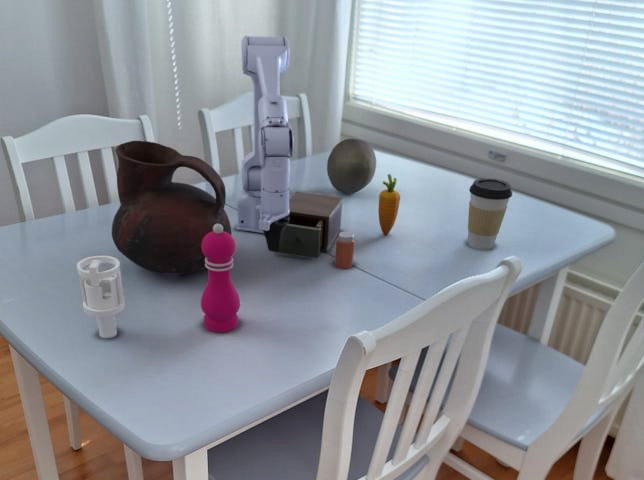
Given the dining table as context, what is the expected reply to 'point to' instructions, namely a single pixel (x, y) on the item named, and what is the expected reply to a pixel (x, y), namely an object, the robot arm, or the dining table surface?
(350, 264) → the orange jar
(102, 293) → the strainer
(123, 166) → the jug
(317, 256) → the drawer
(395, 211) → the carrot
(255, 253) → the dining table surface
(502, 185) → the coffee cup
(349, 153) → the cantaloupe
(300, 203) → the cabinet
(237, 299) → the pepper mill
